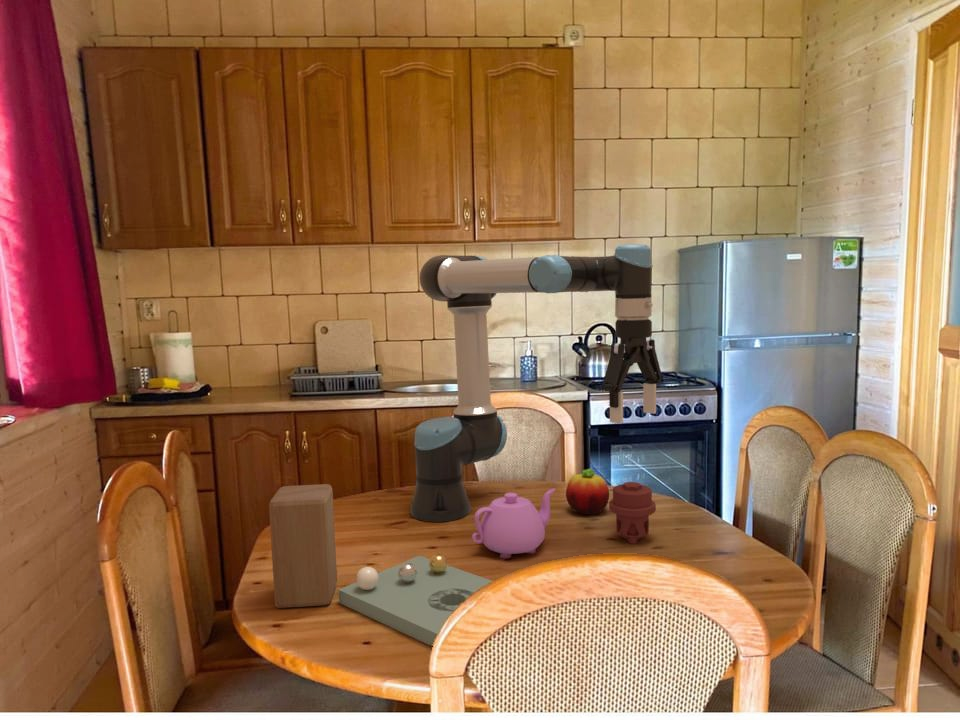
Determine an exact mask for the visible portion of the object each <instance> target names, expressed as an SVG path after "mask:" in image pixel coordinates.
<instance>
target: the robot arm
mask: <svg viewBox="0 0 960 720" xmlns="http://www.w3.org/2000/svg"><path fill="white" fill-rule="evenodd" d="M652 260H653V259H652V248H651V247H650V246H649V245H647V244H640V243H639V244H622V245H617V246H616V247H615V249H614V254H613V255H610V256H609V255H608V256H573V255H571V256H570V255H569V256H567V255H566V256H565V255H557V254H549V255H547V254H546V255H542V256H532V257H515V258H497V259H496V258H495V259H488V258H486V257H484V256H477V255H448V254H446V255H445V254H442V255H436V256H433V257H431V258H429V259H427V261H426V262H425V263H424V264H423V265H422V267H421V269H420V272H419V285H420V287H421V289H422V291H423V292H424V293H425V295H426V296H428V297H429V298H430V299H432V300H434V301H437V302H446V304H447V310H448V311H449V312H450V313H451V314H452V315H453V325H454V327H453V329H454V345H455V361H456V362H455V363H456V364H455V365H456V379H457V380H456V381H457V384H456V385H457V401H458V402H457V403H458V405H457V406H456V408H455V409H454V410H453V412H452V413H453V414H452V416H453V417H452V416H441V417H437V418H436V417H435V418H431V419H427V420H425V421H422V422H421V423H419V424H418V425H417V426H416V427H415V430H414V453H415V455H414V456H415V471H416V472H415V474H416V476H415V478H416V481H415V482H416V484H415V488H414V491H413V496H412V500H411V503H410V516H411V517H412V518H414V519H416V520H419V521H423V522H433V523H434V522H435V523H439V522H441V523H442V522H451V521H455V520H458V519H462V518H465V517H467V516H468V515H470V513H471V500H470V499H469V497H468V494H467V491H466V488H465V487H466V486H465V485H464V482H463V480H464V479H463V467H464V466H467V465H468V466H469V465H471V464H475V463H477V462H478V463H479V462H481V461H482V462H483V461H484V462H486V461H487V460H490V459H492V458H493V457H496V456H498V455H499V454H500V453H501V452H502V451H503V449H504V448H505V446H506V443H507V439H508V431H507V427H506V423H505V422H503V419H502V418H501V416H499V415H498V409H497V408H496V407H495V406H494V405H493V404H492V402H491V401H492V400H491V383H490V382H491V381H490V380H491V379H490V365H489V364H490V363H489V362H490V358H489V341H488V320H487V318H488V317H487V314H488V312H489V310H490V309H492V305H493V303H492V302H493V301H492V299H493V298H495V297H496V296H497V294H510V293H511V294H519V293H522V294H526V293H527V294H529V293H530V294H531V293H533V294H534V293H542V294H543V293H544V294H558V293H576V292H577V293H578V292H579V293H588V292H606V291H607V292H608V291H609V292H614V293H615V294H614V296H615V302H614V303H615V305H614V308H615V309H614V317H616V318H617V320H616V321H615V325H614V326H615V330H614V331H615V337H617V338H620V343H616V342H615V343H611V345H610V356H609V360H608V363H607V367H606V371H605V375H604V377H603V383H602V389H603V390H604V391H605V392H608V393H609V394H608V395H609V396H608V397H609V398H608V399H609V423H614V424H623V423H624V392H623V391H621V390H622V387H623V384H624V382H625V380H626V378H627V375H628V373H629V371H630V369H631V367H632V366H633V365H634V364H637V367H638V369H639V370H640V373H641V375H642V377H643V379H644V381H645V382H644V383H642V385H643V389H642V391H643V392H642V393H643V401H642V402H643V403H642V404H643V407H642V408H643V410H642V411H643V413H644V414H653V415H654V414H655V415H656V414H657V384H659V385H660V384H662V378H663V374H662V371H661V370H662V369H661V367H660V364H659V363H660V362H659V358H658V355H657V351H656V343H655V339H653V338H652V339H650V337H652V335H653V332H652V331H653V327H652V326H653V321H651V320H652V319H649V318H650V317H652V307H653V301H652V298H653V297H652V282H653V281H652V279H653V277H652V276H653V271H652V270H653V263H652V262H653V261H652Z"/></svg>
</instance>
